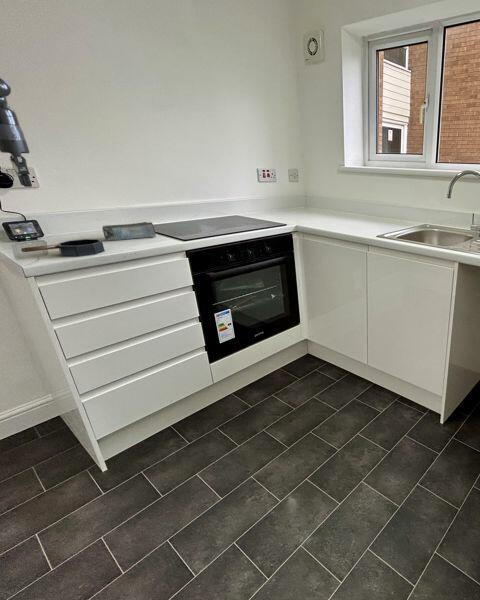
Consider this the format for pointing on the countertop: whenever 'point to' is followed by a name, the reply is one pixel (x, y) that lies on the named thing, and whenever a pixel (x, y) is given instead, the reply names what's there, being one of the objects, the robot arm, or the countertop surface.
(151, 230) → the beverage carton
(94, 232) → the countertop surface
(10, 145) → the robot arm
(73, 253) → the black frying pan
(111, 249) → the countertop surface
